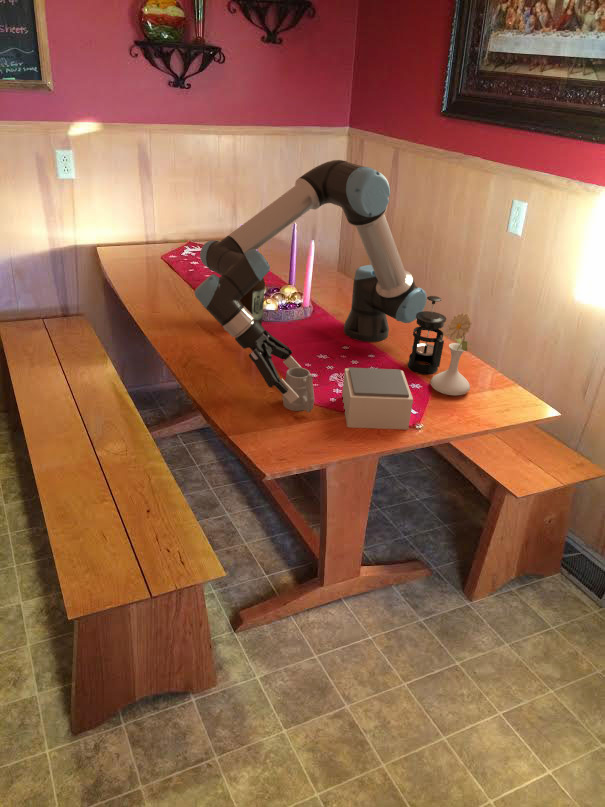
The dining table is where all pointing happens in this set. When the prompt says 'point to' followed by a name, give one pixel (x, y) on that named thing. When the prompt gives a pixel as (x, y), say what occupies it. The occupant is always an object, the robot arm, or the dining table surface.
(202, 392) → the dining table surface
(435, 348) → the french press
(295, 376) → the mug
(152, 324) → the dining table surface
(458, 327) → the flower in vase
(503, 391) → the dining table surface
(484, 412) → the dining table surface
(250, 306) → the olive oil
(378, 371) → the stand
